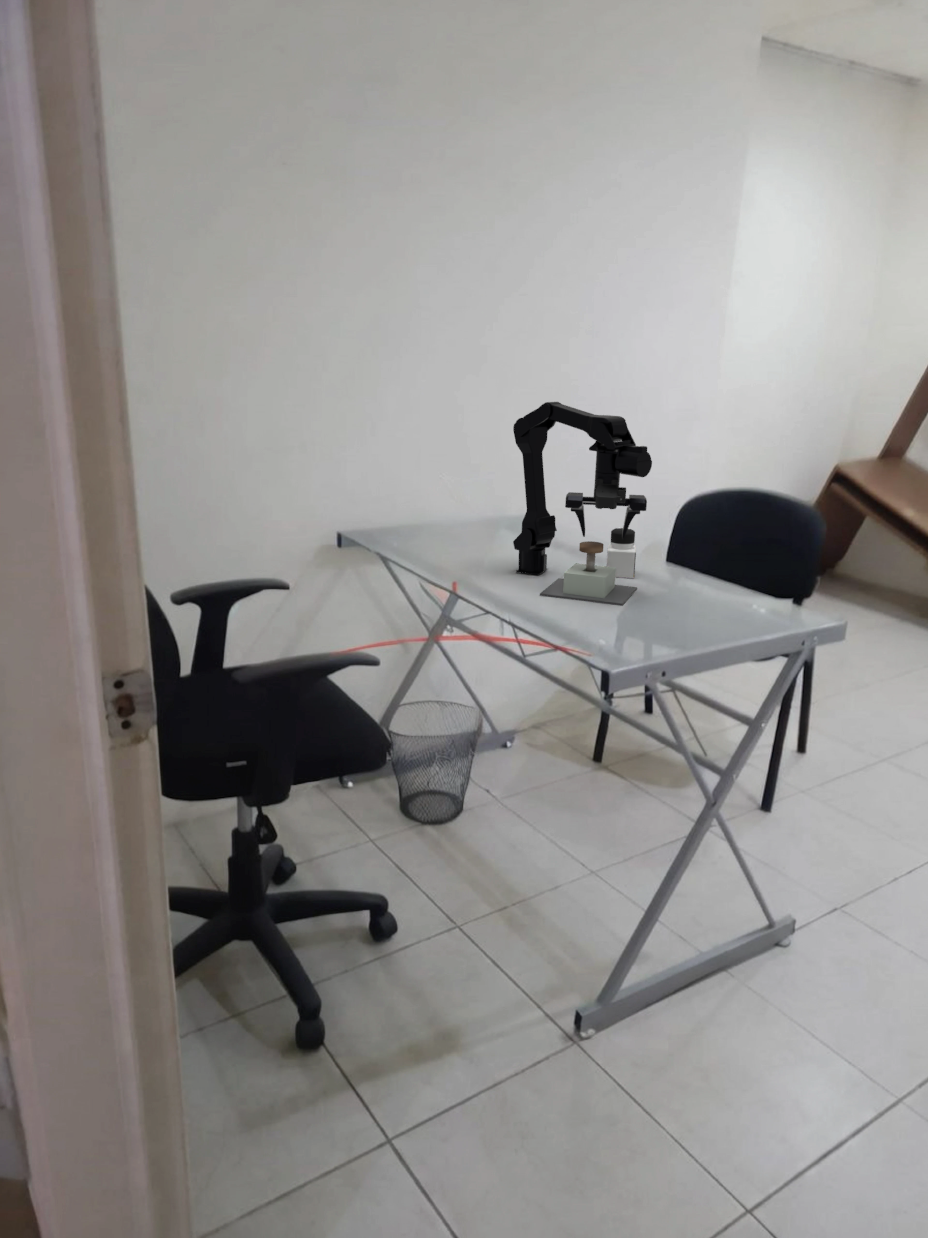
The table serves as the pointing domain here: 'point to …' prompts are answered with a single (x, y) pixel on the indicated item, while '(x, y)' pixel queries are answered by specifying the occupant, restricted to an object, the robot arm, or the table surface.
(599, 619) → the table surface
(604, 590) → the press base
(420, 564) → the table surface
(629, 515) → the robot arm
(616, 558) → the medicine bottle
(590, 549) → the plunger
